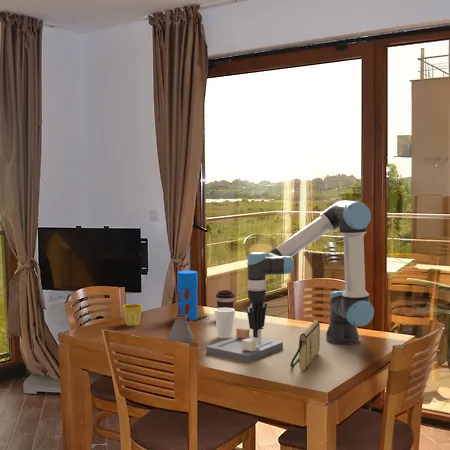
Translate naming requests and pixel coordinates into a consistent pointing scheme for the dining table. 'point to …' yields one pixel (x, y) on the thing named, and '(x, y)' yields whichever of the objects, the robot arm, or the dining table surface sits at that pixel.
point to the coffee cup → (225, 299)
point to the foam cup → (224, 321)
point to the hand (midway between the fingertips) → (257, 344)
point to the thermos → (187, 294)
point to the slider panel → (235, 352)
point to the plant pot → (132, 314)
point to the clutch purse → (308, 345)
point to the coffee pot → (182, 329)
